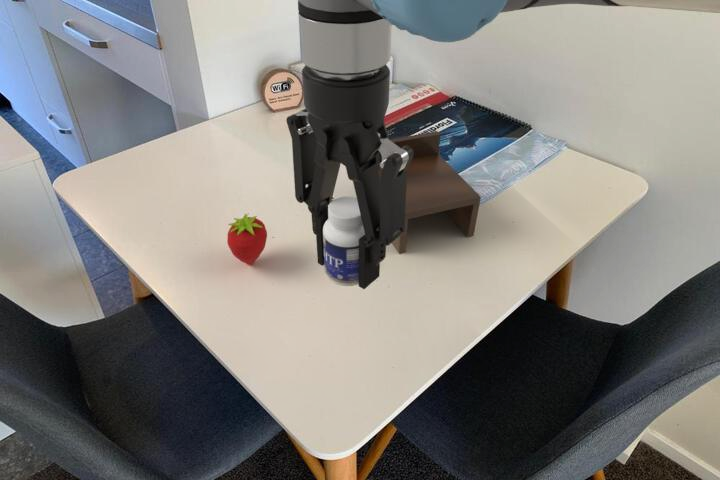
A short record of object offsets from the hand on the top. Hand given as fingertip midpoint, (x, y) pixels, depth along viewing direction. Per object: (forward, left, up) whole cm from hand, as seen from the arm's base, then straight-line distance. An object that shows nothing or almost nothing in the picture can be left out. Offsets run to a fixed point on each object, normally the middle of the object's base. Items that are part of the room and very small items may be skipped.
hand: (348, 269), depth 59 cm
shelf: (+25, -22, -16) cm, 37 cm away
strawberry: (+23, +8, -16) cm, 29 cm away
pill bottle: (0, 0, 0) cm, 0 cm away
